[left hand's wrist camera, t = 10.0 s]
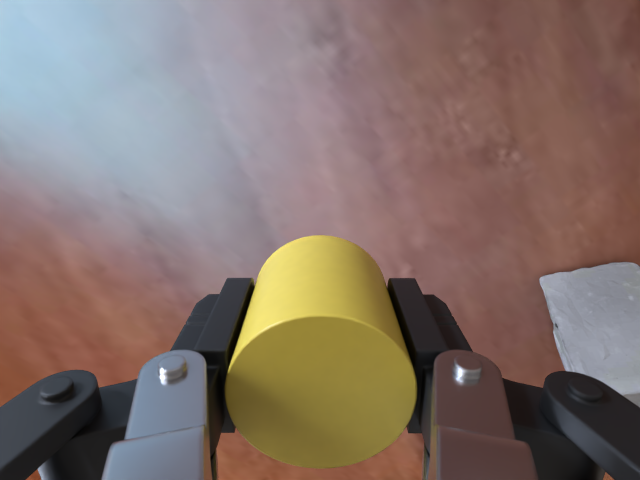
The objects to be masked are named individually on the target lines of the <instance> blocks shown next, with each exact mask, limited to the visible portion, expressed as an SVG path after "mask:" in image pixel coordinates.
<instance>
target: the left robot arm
mask: <svg viewBox="0 0 640 480" xmlns="http://www.w3.org/2000/svg"><path fill="white" fill-rule="evenodd" d="M254 288H255V286H254V280H253V278H227V280H226V282H225V284H224V286H223V288H222V290H221V292H220V294H209V295H207V296H206V297H205V298H203V299H202V300H201V301H199V302H198V303H197V304H196V305H195V307H194V309H193V311H192V313H191V316H189V318H188V320H187V322H186V325H184V327H183V329H182V331H181V332H180V334H179V336H178V338H177V340H176V341H175V343H174V345H173V347H172V348H171V350H170V351H169V352H166V353H163V354H160V355H158V356H156V357H154V358H152V359H151V360H149V361H148V362H147V363H146V364H145V365H144V366H143V367H142V368H141V370H140V372H139V375H138V379H135V380H132V381H128V382H124V383H119V384H114V385H110V386H105V387H100V388H99V387H98V383H97V379H96V377H95V375H94V374H92V373H91V372H88V371H84V370H70V371H64V372H60V373H56V374H53V375H51V376H48V377H46V378H44V379H42V380H40V381H38V382H37V383H35V384H33V385H32V386H30V387H29V388H27V389H26V390H25V391H23V392H22V393H20V394H19V395H17V396H16V397H14V398H13V399H12V400H10V401H9V402H7V403H6V404H4V405H3V406H1V407H0V480H25V479H27V478H28V477H29V476H30V475H31V474H32V473H33V472H34V471H36V470H37V469H38V471H39V474H40V477H41V480H218V459H217V450H216V448H217V445H218V441H219V438H220V434H221V433H234V432H235V428H236V427H235V425H234V423H233V421H232V419H231V417H230V415H229V412H228V409H227V406H226V400H225V381H226V375H227V372H228V369H229V366H230V362H231V359H232V356H233V353H234V350H235V347H236V344H237V341H238V338H239V334H240V331H241V328H242V325H243V322H244V319H245V316H246V313H247V309H248V306H249V303H250V300H251V297H252V294H253V291H254ZM387 289H388V293H389V296H390V299H391V302H392V305H393V308H394V311H395V314H396V317H397V320H398V323H399V326H400V329H401V332H402V335H403V338H404V341H405V344H406V347H407V350H408V353H409V356H410V359H411V363H412V366H413V369H414V372H415V376H416V381H417V400H416V405H415V409H414V412H413V415H412V417H411V419H410V421H409V423H408V425H407V430H408V433H422V435H423V439H424V450H423V459H422V480H603V477H604V475H605V472H607V473H608V474H609V475H610V476H611V477H612V478H613V479H615V480H640V407H639V406H637V405H636V404H634V403H633V402H631V401H630V400H628V399H627V398H626V397H624V396H623V395H621V394H620V393H618V392H617V391H615V390H614V389H613V388H611V387H610V386H608V385H607V384H605V383H603V382H601V381H599V380H598V379H595V378H593V377H591V376H588V375H585V374H581V373H577V372H571V371H558V372H554V373H551V374H550V375H548V376H547V377H546V379H545V382H544V386H543V388H540V387H536V386H531V385H526V384H522V383H517V382H513V381H510V380H507V379H504V378H502V375H501V372H500V370H499V368H498V367H497V366H496V365H495V364H494V363H493V362H492V361H491V360H489V359H488V358H486V357H484V356H482V355H480V354H477V353H474V352H473V351H472V349H471V347H470V346H469V344H468V342H467V340H466V339H465V337H464V335H463V333H462V332H461V330H460V328H459V326H458V325H457V323H456V321H455V319H454V317H453V316H452V314H451V312H450V310H449V309H448V307H447V305H446V304H445V303H444V302H443V301H441V300H440V299H439V298H437V297H436V296H435V295H423V294H422V292H421V290H420V288H419V286H418V284H417V282H416V280H415V278H389V280H388V287H387Z"/></svg>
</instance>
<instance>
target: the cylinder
mask: <svg viewBox="0 0 640 480" xmlns="http://www.w3.org/2000/svg"><path fill="white" fill-rule="evenodd" d="M225 400H226V406H227V409H228V412H229V415H230V417H231V419H232V421H233V423H234V425H235V427H236V428H237V429H238V431H239V432H240V434H241V435H242V436H243V437H244V438H245V439H246V440H247V441H248V442H249V443H250V444H251V445H253V446H254V447H255V448H256V449H258V450H259V451H261V452H263V453H264V454H266V455H268V456H270V457H272V458H274V459H276V460H279V461H281V462H284V463H287V464H291V465H295V466H300V467H307V468H335V467H342V466H346V465H351V464H355V463H357V462H360V461H363V460H366V459H368V458H370V457H372V456H374V455H376V454H378V453H379V452H381V451H383V450H384V449H385V448H387V447H388V446H389V445H390V444H392V443H393V442H394V441H395V440H396V439H397V438H398V437H399V436H400V435H401V433H402V432H403V431H404V429H405V428H406V426H407V425H408V423H409V421H410V419H411V417H412V415H413V412H414V409H415V405H416V400H417V381H416V376H415V372H414V369H413V366H412V363H411V359H410V356H409V353H408V350H407V347H406V344H405V341H404V338H403V335H402V332H401V329H400V326H399V323H398V320H397V317H396V314H395V311H394V308H393V305H392V302H391V299H390V296H389V293H388V289H387V286H386V283H385V280H384V277H383V274H382V272H381V270H380V268H379V266H378V265H377V263H376V262H375V260H374V259H373V258H372V257H371V256H370V255H369V254H368V253H367V252H366V251H365V250H363V249H362V248H360V247H359V246H357V245H356V244H354V243H352V242H350V241H347V240H344V239H342V238H338V237H333V236H323V235H320V236H309V237H303V238H300V239H297V240H294V241H292V242H290V243H287V244H286V245H284V246H282V247H281V248H279V249H278V250H277V251H276V252H274V253H273V254H272V255H271V256H270V257H269V258H268V260H267V261H266V262H265V264H264V265H263V267H262V269H261V271H260V273H259V275H258V278H257V281H256V285H255V288H254V291H253V294H252V297H251V300H250V303H249V306H248V309H247V313H246V316H245V319H244V322H243V325H242V328H241V331H240V334H239V338H238V341H237V344H236V347H235V350H234V353H233V356H232V359H231V362H230V366H229V369H228V372H227V375H226V381H225Z"/></svg>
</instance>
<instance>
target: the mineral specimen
mask: <svg viewBox="0 0 640 480" xmlns="http://www.w3.org/2000/svg"><path fill="white" fill-rule="evenodd" d="M539 279H540V285H541V287H542V289H543V291H544V294H545V298H546V302H547V306H548V309H549V313H550V316H551V320H552V322H553V324H554V331H553V333H554V338H555V342H556V346H557V349H558V352H559V354H560V357H561V360H562V363H563V365H564V368H565V371H571V372H577V373H581V374H585V375H588V376H591V377H593V378H595V379H598V380H599V381H601V382H603V383H605V384H607V385H608V386H610V387H611V388H613V389H614V390H615V391H617V392H618V393H620V394H621V395H623V396H624V397H626V398H627V399H628V400H630V401H631V402H633V403H634V404H636V405H637V406H639V407H640V267H639V265H637V264H635V263H630V262H620V263H609V264H605V265H600V266H596V267H592V268H580V269H578V270H575V271H572V272H558V273H554V274H550V275H545V276H543V277H541V278H539Z"/></svg>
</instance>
